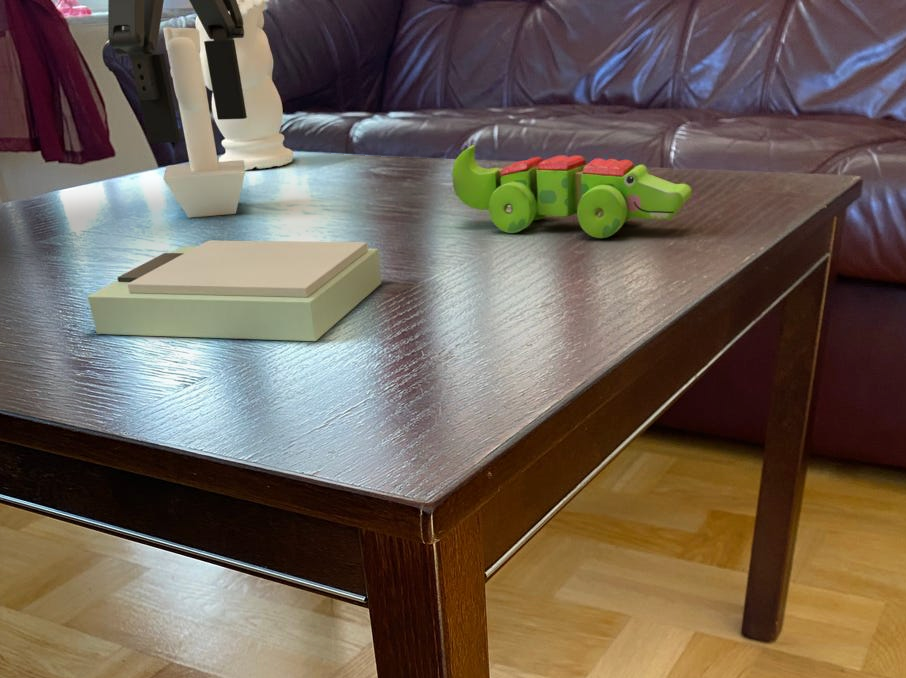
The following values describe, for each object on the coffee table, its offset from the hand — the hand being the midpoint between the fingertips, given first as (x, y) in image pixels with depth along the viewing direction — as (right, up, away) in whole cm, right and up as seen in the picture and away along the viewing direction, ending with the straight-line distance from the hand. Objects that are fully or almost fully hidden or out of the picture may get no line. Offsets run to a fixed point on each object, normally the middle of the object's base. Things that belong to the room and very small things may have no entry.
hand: (200, 130), depth 93 cm
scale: (+10, -24, -24) cm, 35 cm away
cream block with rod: (0, -6, +4) cm, 7 cm away
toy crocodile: (+33, -12, -8) cm, 36 cm away
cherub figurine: (+1, +8, +24) cm, 25 cm away
